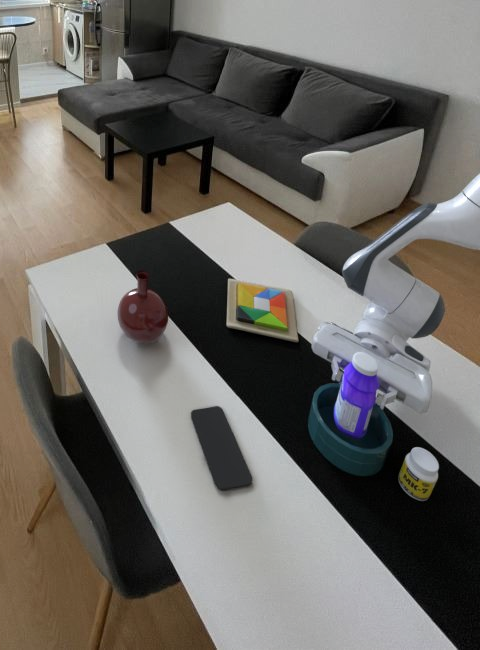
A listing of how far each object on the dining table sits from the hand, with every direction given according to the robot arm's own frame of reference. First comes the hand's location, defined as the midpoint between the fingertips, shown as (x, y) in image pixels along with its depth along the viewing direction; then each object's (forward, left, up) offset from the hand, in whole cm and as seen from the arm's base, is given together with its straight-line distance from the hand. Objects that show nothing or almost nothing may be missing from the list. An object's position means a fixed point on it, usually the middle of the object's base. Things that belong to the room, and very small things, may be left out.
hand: (357, 392), depth 82 cm
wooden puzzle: (+30, -16, -15) cm, 37 cm away
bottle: (0, -1, -10) cm, 10 cm away
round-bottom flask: (+44, +15, -15) cm, 49 cm away
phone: (+14, +21, -15) cm, 29 cm away
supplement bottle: (-11, -2, -15) cm, 19 cm away
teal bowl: (0, -1, -15) cm, 15 cm away
